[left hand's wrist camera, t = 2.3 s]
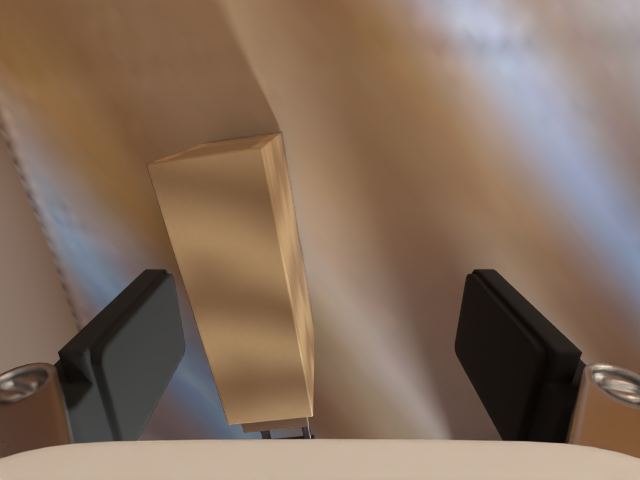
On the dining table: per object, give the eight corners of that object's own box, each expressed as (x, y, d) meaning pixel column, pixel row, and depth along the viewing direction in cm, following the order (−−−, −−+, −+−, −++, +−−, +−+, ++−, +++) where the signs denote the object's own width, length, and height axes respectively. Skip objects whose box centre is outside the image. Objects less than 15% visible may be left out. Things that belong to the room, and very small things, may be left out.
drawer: (318, 392, 38) (318, 474, 30) (271, 397, 38) (257, 480, 30) (280, 171, 29) (264, 199, 21) (218, 179, 29) (177, 210, 21)
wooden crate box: (315, 329, 36) (313, 416, 26) (253, 336, 36) (227, 425, 26) (281, 131, 29) (262, 147, 19) (205, 142, 29) (145, 163, 19)
